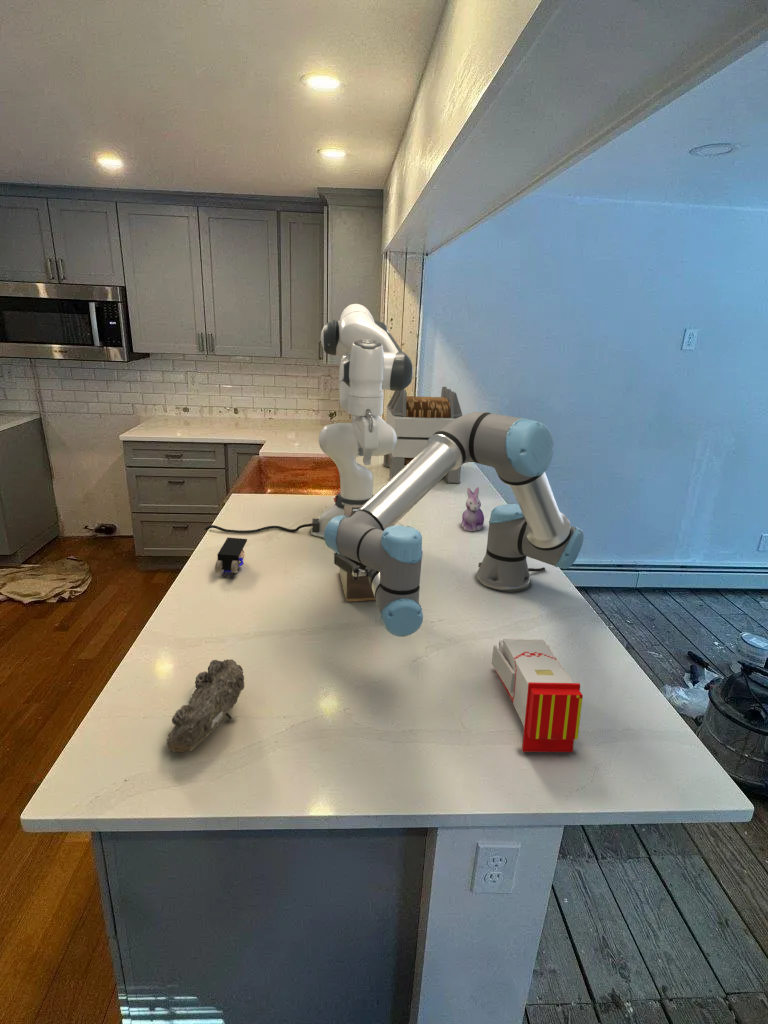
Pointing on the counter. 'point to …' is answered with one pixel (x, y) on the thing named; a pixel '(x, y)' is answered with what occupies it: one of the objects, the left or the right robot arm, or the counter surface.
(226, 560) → the black wheeled rover
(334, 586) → the counter surface
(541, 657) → the toy
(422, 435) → the transformer
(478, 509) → the figurine
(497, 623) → the counter surface
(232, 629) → the counter surface
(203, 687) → the fossil
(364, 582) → the chest
